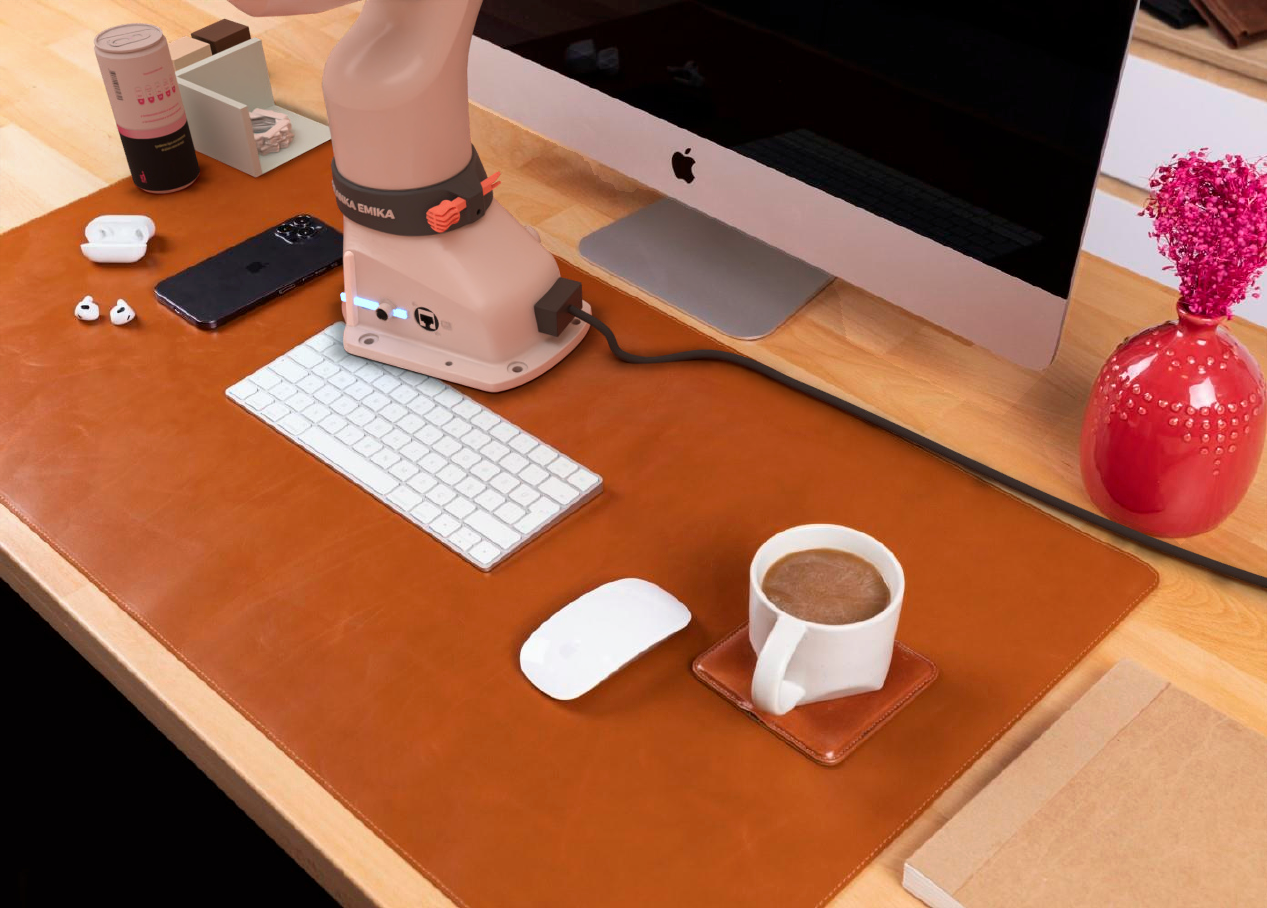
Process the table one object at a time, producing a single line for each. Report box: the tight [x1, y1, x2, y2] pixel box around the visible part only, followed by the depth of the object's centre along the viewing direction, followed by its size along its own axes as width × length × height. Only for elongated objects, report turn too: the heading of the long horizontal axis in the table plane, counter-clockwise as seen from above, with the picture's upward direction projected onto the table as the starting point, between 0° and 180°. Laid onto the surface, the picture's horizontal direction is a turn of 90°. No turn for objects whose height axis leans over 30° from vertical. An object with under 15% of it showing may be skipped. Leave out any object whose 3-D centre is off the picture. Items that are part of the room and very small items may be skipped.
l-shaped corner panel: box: [175, 36, 331, 178], centre depth 133 cm, size 12×12×8 cm
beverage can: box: [93, 22, 201, 194], centre depth 124 cm, size 7×7×15 cm
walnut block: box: [190, 18, 252, 56], centre depth 144 cm, size 4×5×6 cm
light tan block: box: [167, 35, 212, 72], centre depth 140 cm, size 4×5×6 cm
